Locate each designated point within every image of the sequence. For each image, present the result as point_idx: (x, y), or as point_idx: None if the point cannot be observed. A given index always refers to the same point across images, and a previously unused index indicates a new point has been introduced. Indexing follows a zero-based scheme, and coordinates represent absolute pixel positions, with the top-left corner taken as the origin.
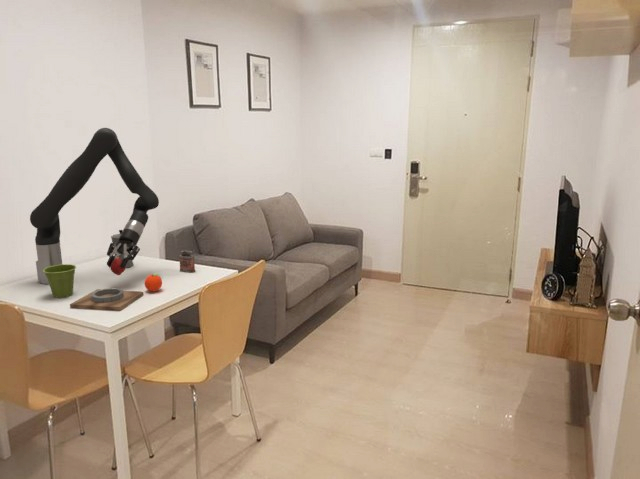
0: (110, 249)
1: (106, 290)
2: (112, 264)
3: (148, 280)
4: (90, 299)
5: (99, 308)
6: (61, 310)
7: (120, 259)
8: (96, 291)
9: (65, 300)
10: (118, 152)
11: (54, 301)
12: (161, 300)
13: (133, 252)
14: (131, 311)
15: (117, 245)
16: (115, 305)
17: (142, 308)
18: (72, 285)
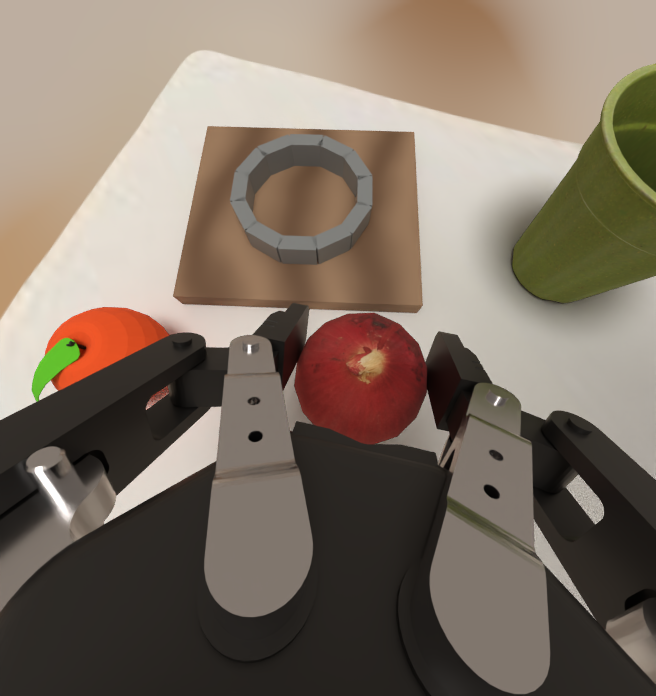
0: (636, 505)
1: (332, 231)
2: (389, 320)
3: (114, 309)
4: None
5: None
6: (425, 127)
7: (339, 382)
8: (364, 197)
9: (487, 211)
10: None
11: (522, 197)
12: (85, 252)
13: (93, 376)
14: (172, 143)
15: (585, 641)
16: (231, 138)
17: (141, 170)
18: (539, 244)
